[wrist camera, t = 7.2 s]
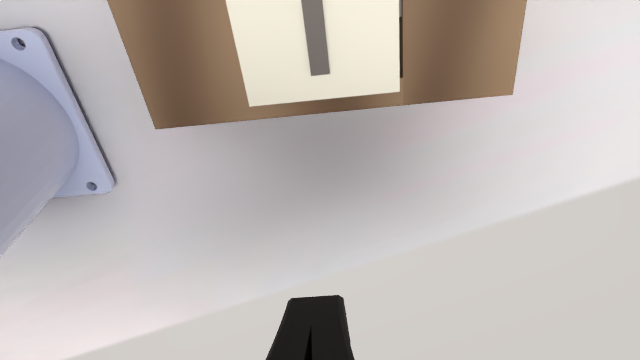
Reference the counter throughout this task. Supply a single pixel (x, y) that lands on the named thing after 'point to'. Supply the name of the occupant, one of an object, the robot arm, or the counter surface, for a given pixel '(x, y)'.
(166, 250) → the counter surface
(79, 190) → the robot arm
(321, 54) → the tile one
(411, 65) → the frame
